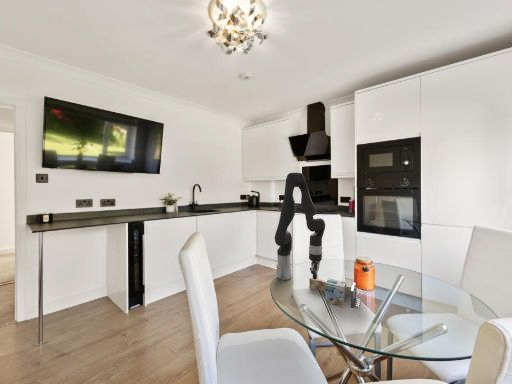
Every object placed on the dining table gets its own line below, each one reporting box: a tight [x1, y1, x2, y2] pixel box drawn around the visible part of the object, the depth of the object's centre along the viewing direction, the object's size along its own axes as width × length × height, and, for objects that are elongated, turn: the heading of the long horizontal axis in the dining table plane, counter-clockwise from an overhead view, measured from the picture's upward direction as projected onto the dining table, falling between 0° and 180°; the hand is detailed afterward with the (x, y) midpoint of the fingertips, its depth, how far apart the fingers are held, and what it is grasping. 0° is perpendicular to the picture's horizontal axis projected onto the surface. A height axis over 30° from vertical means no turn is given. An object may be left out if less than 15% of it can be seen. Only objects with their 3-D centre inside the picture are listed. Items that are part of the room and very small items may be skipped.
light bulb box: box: [325, 278, 347, 304], centre depth 143 cm, size 11×7×11 cm, turn 60°
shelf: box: [308, 277, 358, 308], centre depth 146 cm, size 28×14×6 cm, turn 61°
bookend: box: [350, 282, 361, 309], centre depth 138 cm, size 4×10×10 cm, turn 151°
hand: (314, 278), depth 148 cm, fingers closed
